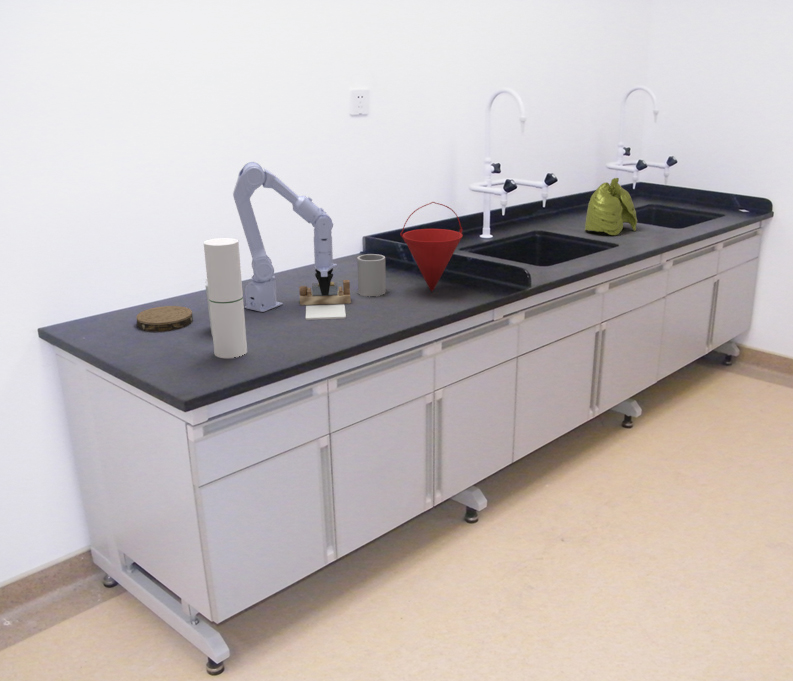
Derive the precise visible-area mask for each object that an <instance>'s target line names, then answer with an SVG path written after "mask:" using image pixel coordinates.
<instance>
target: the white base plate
mask: <svg viewBox="0 0 793 681" xmlns="http://www.w3.org/2000/svg"><path fill="white" fill-rule="evenodd" d="M341 319H342V320H345V319H347V316H346V307H345V304H317V305H305V320H306V321H312V320H313V321H314V320H317V321H318V320H341Z"/></svg>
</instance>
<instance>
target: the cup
mask: <svg viewBox="0 0 793 681" xmlns="http://www.w3.org/2000/svg"><path fill="white" fill-rule="evenodd" d="M356 258H357V260H356V261H357V293H359V294H360V295H359V294H358V295H359V296H363V297H367V296H369V297H370V296H376V297H381V296H384V295H385V294H386V291H387V289H386V285H387V284H386V256H385V255H382V254H378V253H377V254H374V253H367V254H362V255H361V254H360V255H358V256H357V257H356ZM383 294H384V295H383ZM380 295H381V296H380Z"/></svg>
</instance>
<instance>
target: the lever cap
mask: <svg viewBox="0 0 793 681" xmlns="http://www.w3.org/2000/svg"><path fill="white" fill-rule="evenodd" d="M317 282H318V281H317ZM338 291H339V287H338V283H337V282H335V281H331V282H330V288H329V294H328V295H322V294H321V290H320V286H319V282H318V283H312V284H311V292H312V296H332V295H338Z"/></svg>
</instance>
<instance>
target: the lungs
mask: <svg viewBox="0 0 793 681" xmlns="http://www.w3.org/2000/svg"><path fill="white" fill-rule="evenodd" d="M619 181H620V178H619V177H614V178H612V179H611V181H610V183H608V182H603V183H601V184H600V185H599V186H598V187H597V188H596V190H595V191H594V192H593V193H592V195H591V197H590V200H589V201H588V205H587V209H586V211H587V212H586V217H585V226H584V231H585V232H588V231H592V232H593V231H594V232H604V233H606V234H608V235H611V236H617V235H619V234H620V233H621V232H622V230H623V228H624V224H625V223H626V224H629V225H630V226H631V228H632V230H633V231H634V232H636V230H637V224H638V219H637V211H636V209H635V205H634V202H633V200H632V197H631V195H630V192H628V191H627V190H626V189H624V188H623V187H622V186H621V184H619Z"/></svg>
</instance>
